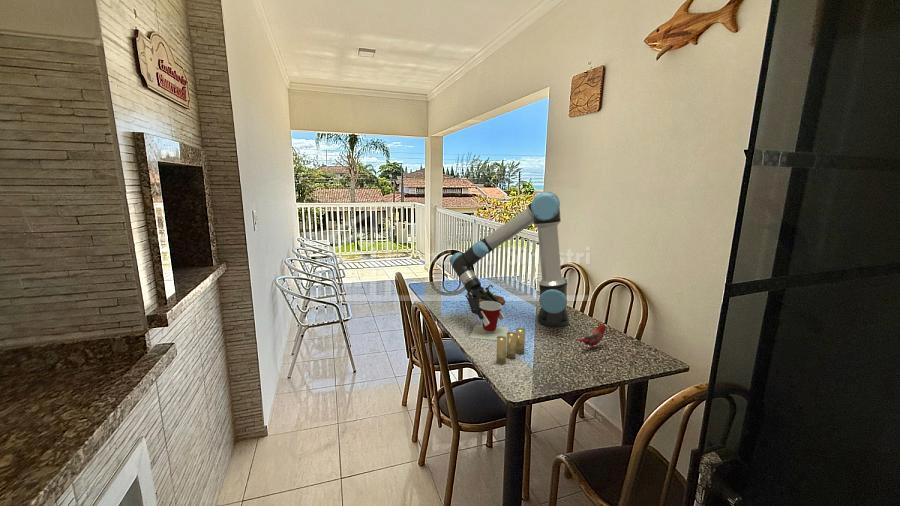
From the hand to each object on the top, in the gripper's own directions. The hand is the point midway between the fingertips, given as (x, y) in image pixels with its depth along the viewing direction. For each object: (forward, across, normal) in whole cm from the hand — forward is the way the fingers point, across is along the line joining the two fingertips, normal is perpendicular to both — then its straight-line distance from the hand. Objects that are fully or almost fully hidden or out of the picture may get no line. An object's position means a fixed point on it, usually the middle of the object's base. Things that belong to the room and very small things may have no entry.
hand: (495, 321), depth 167 cm
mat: (+2, 0, -7) cm, 7 cm away
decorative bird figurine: (+31, -17, +22) cm, 41 cm away
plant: (-19, -33, -29) cm, 48 cm away
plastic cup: (+1, 0, -6) cm, 6 cm away
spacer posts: (+18, +12, +9) cm, 24 cm away
